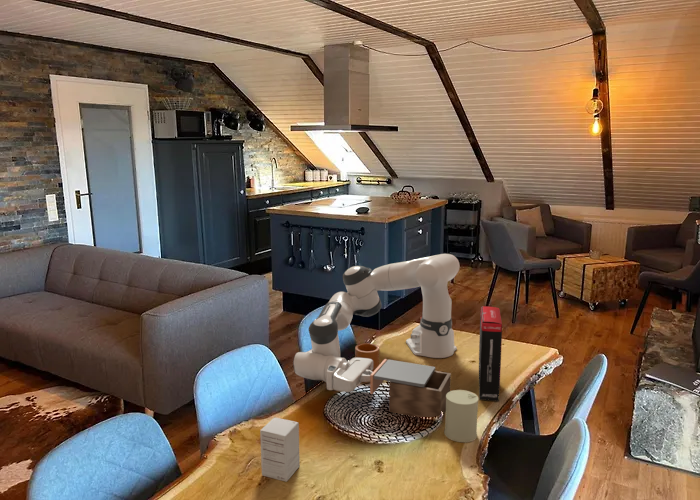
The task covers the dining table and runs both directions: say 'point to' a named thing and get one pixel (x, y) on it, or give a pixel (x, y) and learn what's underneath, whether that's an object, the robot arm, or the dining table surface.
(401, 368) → the lid
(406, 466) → the dining table surface
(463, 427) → the can
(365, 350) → the mug
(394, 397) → the walnut box
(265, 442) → the supplement box
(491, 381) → the graphics card box
